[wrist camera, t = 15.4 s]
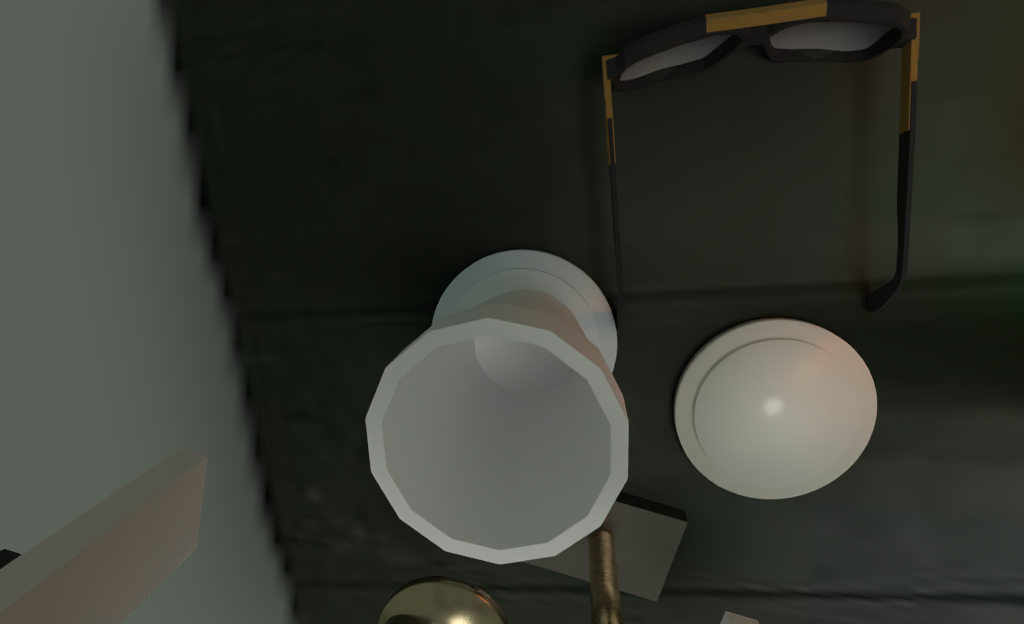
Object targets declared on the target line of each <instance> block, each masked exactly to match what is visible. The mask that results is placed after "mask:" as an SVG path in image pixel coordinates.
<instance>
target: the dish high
mask: <svg viewBox="0 0 1024 624" xmlns="http://www.w3.org/2000/svg"><path fill="white" fill-rule="evenodd" d="M673 410H674V422H675V428H676V431H677V434H678V437H679V440H680V442H681V445H682V447H683V449H684V451H685V453H686V455H687V456H688V458H689V459H690V461H691V462H692V464H693V465H694V466H695V467H696V468H697V469H698V470H699V471H700V472H701V473H702V474H703V475H704V476H705V477H707V478H708V479H709V480H710V481H712V482H713V483H715V484H717V485H718V486H720V487H722V488H724V489H726V490H728V491H731V492H733V493H736V494H739V495H743V496H747V497H752V498H760V499H782V498H790V497H795V496H799V495H803V494H806V493H809V492H812V491H814V490H817V489H819V488H821V487H823V486H825V485H827V484H828V483H830V482H832V481H833V480H835V479H836V478H838V477H839V476H840V475H841V474H843V473H844V472H845V471H846V470H847V469H848V468H849V467H850V466H851V465H852V464H853V463H854V462H855V461H856V460H857V459H858V457H859V456H860V454H861V453H862V452H863V450H864V449H865V447H866V445H867V443H868V441H869V439H870V437H871V434H872V431H873V429H874V425H875V420H876V414H877V397H876V390H875V386H874V381H873V379H872V376H871V374H870V372H869V369H868V368H867V366H866V364H865V363H864V361H863V360H862V358H861V357H860V356H859V355H858V353H857V352H856V351H855V350H854V349H853V348H852V347H851V346H850V345H849V344H847V343H846V342H845V341H844V340H842V339H841V338H839V337H838V336H836V335H835V334H833V333H831V332H830V331H828V330H826V329H824V328H822V327H820V326H818V325H815V324H812V323H809V322H806V321H803V320H798V319H793V318H781V317H775V318H762V319H756V320H751V321H747V322H744V323H741V324H738V325H735V326H733V327H731V328H728V329H726V330H725V331H723V332H721V333H719V334H718V335H716V336H715V337H713V338H712V339H711V340H709V341H708V342H707V343H705V344H704V345H703V346H702V347H701V348H700V349H699V350H698V351H697V352H696V353H695V355H694V356H693V357H692V358H691V360H690V361H689V362H688V364H687V366H686V367H685V369H684V370H683V372H682V375H681V377H680V379H679V381H678V384H677V388H676V392H675V397H674V404H673Z"/></svg>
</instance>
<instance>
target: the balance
mask: <svg viewBox="0 0 1024 624" xmlns="http://www.w3.org/2000/svg"><path fill="white" fill-rule="evenodd" d="M687 523H688V522H687V519H686V516H685V512H684V511H683V510H680V509H676V508H673V507H669V506H666V505H662V504H659V503H655V502H652V501H648V500H645V499H641V498H638V497H634V496H631V495H627V494H624V493H619V495H618V497H617V498H616V500H615V502H614V504H613V506H612V507H611V509H610V511H609V513H608V514H607V516H606V518H605V520H604V521H603V523H602V525H601V526H600V527H599V528H597V529H596V530H594V531H592V532H591V533H589V534H588V535H586V536H585V537H583V538H582V539H580V540H579V541H577V542H576V543H574V544H573V545H571V546H570V547H568V548H567V549H565V550H564V551H562V552H561V553H559V554H557V555H556V556H552V557H545V558H539V559H532V560H526V561H522V562H525V563H528V564H532V565H535V566H539V567H542V568H545V569H549V570H552V571H555V572H559V573H562V574H566V575H569V576H572V577H576V578H579V579H582V580H586V581H589V582H590V600H591V624H623V619H622V610H621V600H620V591H623V592H626V593H630V594H633V595H636V596H640V597H643V598H646V599H650V600H653V601H657V600H658V598H659V595H660V593H661V590H662V587H663V585H664V582H665V580H666V577H667V574H668V572H669V569H670V567H671V564H672V562H673V559H674V556H675V554H676V551H677V549H678V546H679V543H680V541H681V538H682V536H683V533H684V530H685V528H686V525H687ZM378 624H508V622H507V620H506V617H505V615H504V614H503V612H502V610H501V608H500V607H499V606H498V605H497V603H496V602H495V601H494V600H493V599H492V598H491V597H490V596H489V595H488V594H486V593H485V592H484V591H483V590H481V589H480V588H478V587H476V586H474V585H472V584H470V583H468V582H466V581H463V580H460V579H456V578H452V577H445V576H429V577H423V578H419V579H416V580H413V581H410V582H408V583H406V584H405V585H403V586H402V587H400V588H399V589H398V590H396V591H395V592H394V593H393V594H392V596H391V597H390V599H389V600H388V602H387V604H386V606H385V608H384V610H383V612H382V614H381V617H380V620H379V623H378Z"/></svg>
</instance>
